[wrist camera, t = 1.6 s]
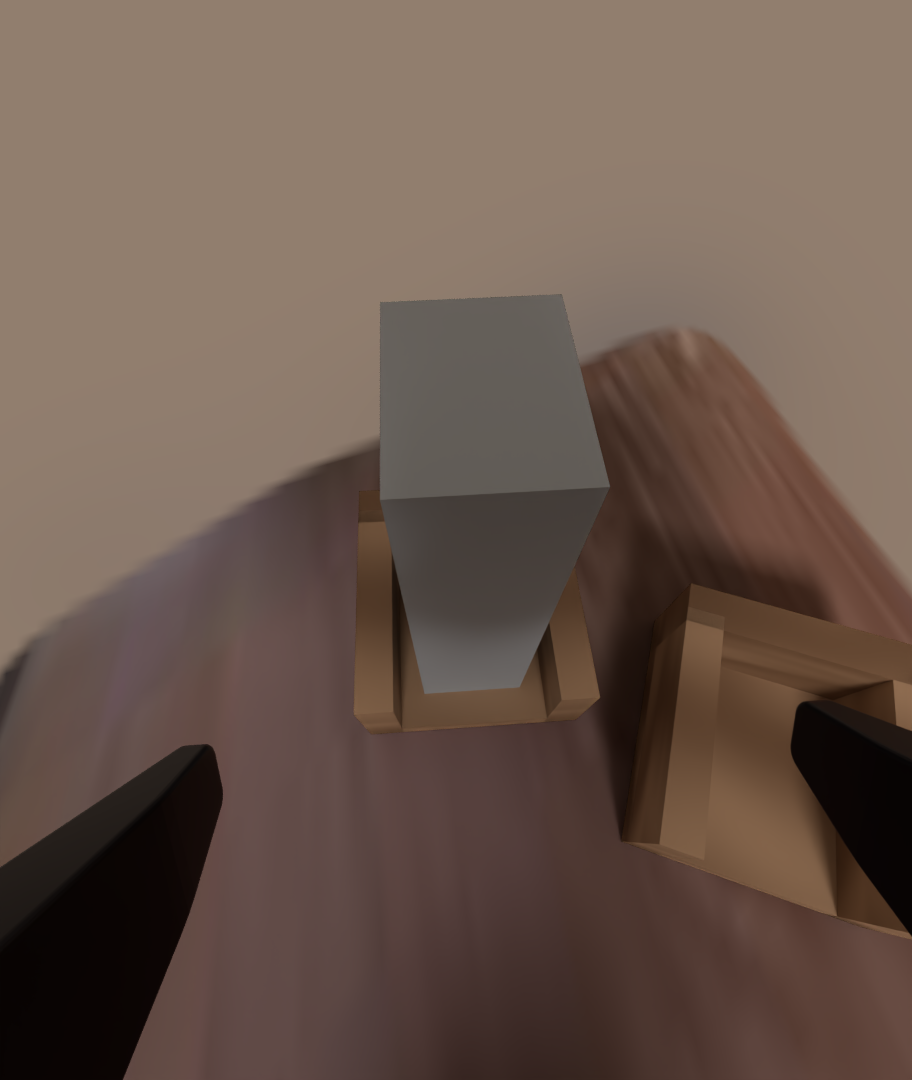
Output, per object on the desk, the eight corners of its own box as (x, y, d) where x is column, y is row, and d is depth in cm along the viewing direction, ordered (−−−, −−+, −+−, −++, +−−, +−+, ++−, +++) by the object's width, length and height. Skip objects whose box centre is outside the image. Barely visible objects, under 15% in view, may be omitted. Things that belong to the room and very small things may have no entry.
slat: (519, 687, 19) (610, 486, 8) (424, 693, 19) (379, 500, 8) (505, 576, 22) (562, 294, 10) (420, 581, 21) (380, 302, 10)
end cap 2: (861, 927, 17) (962, 952, 13) (621, 841, 18) (659, 844, 14) (852, 679, 20) (930, 650, 17) (654, 621, 22) (691, 583, 18)
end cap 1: (575, 719, 20) (600, 697, 16) (371, 734, 19) (353, 714, 16) (543, 529, 24) (557, 480, 20) (373, 539, 23) (359, 491, 20)
